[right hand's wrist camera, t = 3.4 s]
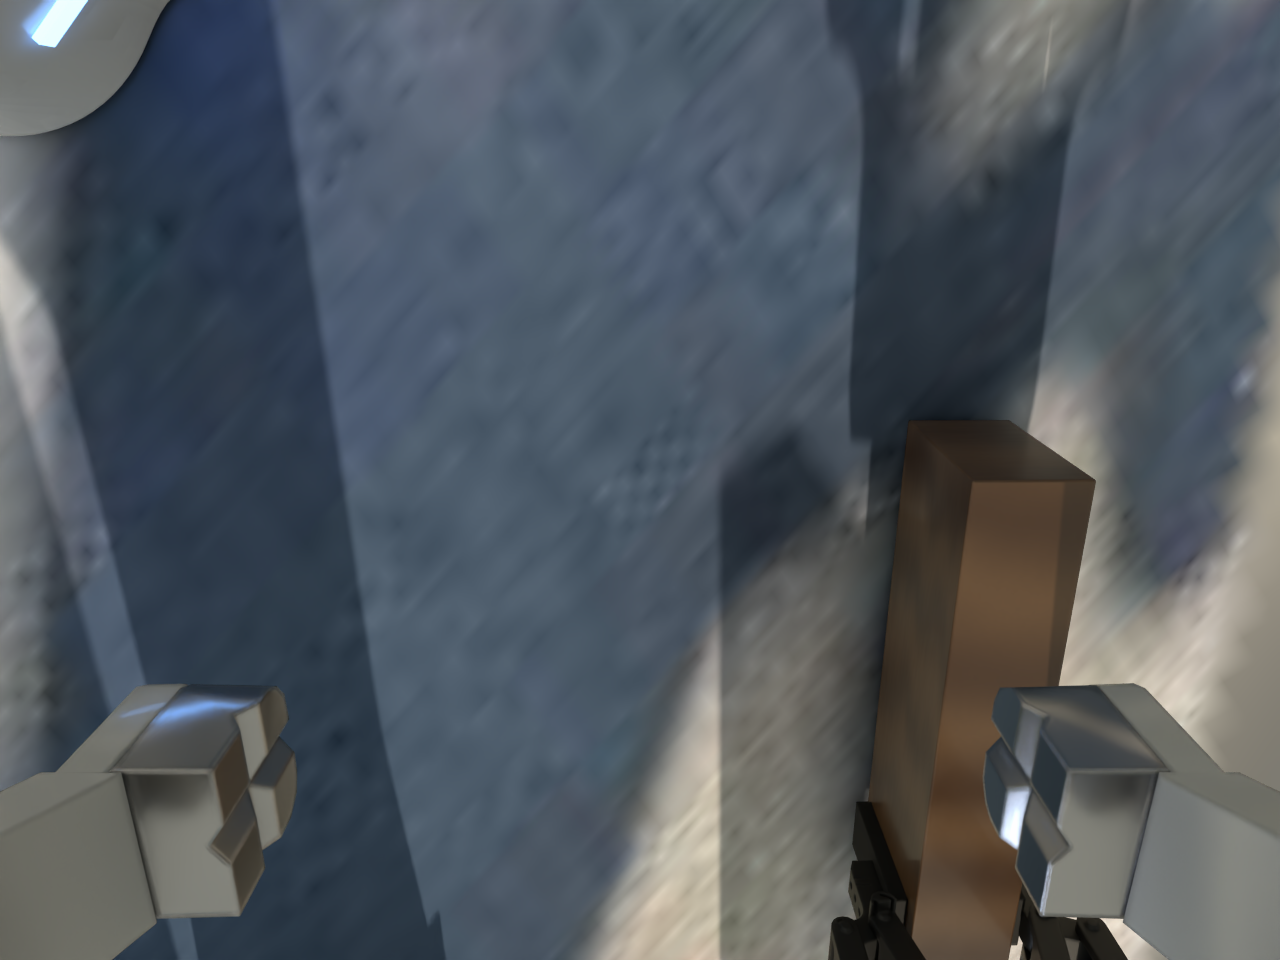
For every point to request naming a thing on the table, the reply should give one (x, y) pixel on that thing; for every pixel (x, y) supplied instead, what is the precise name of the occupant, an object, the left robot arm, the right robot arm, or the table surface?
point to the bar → (968, 661)
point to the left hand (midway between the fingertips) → (912, 823)
